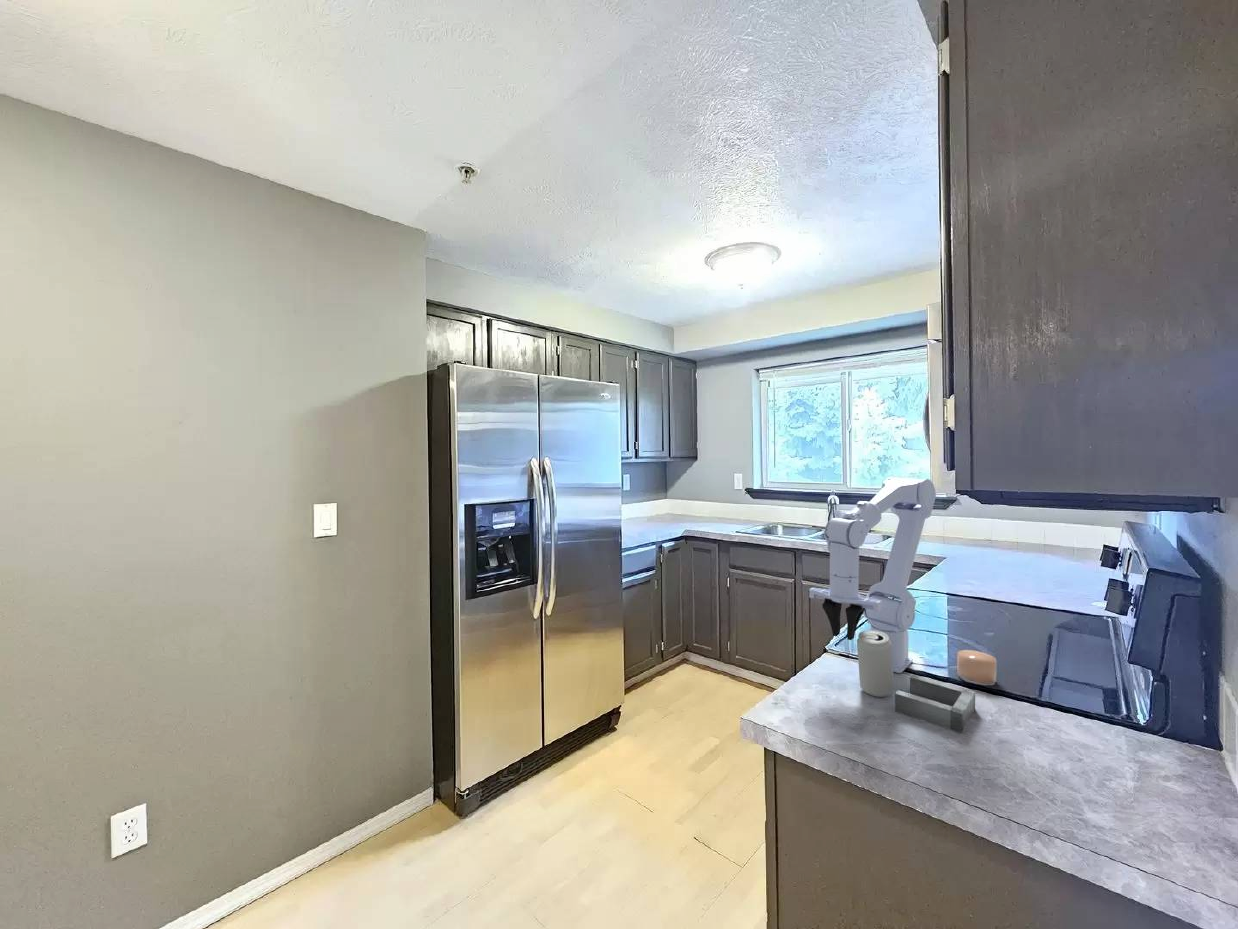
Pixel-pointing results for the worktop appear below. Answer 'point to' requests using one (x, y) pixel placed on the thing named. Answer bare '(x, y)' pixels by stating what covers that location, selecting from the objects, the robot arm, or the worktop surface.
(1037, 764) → the worktop surface
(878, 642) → the beverage can
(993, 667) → the peach cylinder plug
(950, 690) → the grey piece
